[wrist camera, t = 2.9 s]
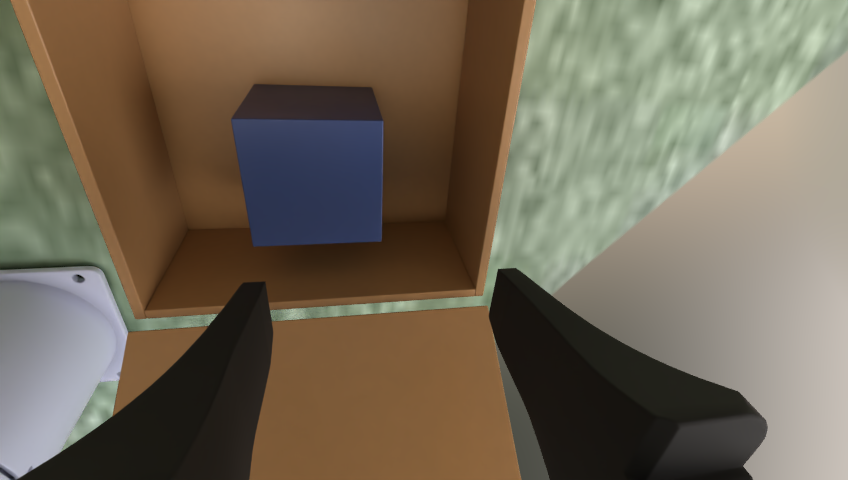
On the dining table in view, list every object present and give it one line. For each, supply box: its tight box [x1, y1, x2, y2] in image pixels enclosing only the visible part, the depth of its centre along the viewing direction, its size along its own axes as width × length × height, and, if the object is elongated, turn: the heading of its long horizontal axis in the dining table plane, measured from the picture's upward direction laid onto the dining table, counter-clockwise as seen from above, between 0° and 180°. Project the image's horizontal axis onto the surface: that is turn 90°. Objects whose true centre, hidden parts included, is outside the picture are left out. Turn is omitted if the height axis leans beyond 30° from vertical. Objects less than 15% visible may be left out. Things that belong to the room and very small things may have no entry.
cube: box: [231, 84, 384, 247], centre depth 18 cm, size 5×5×5 cm
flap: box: [113, 306, 521, 480], centre depth 15 cm, size 7×14×1 cm
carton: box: [10, 0, 536, 319], centre depth 16 cm, size 14×14×6 cm
